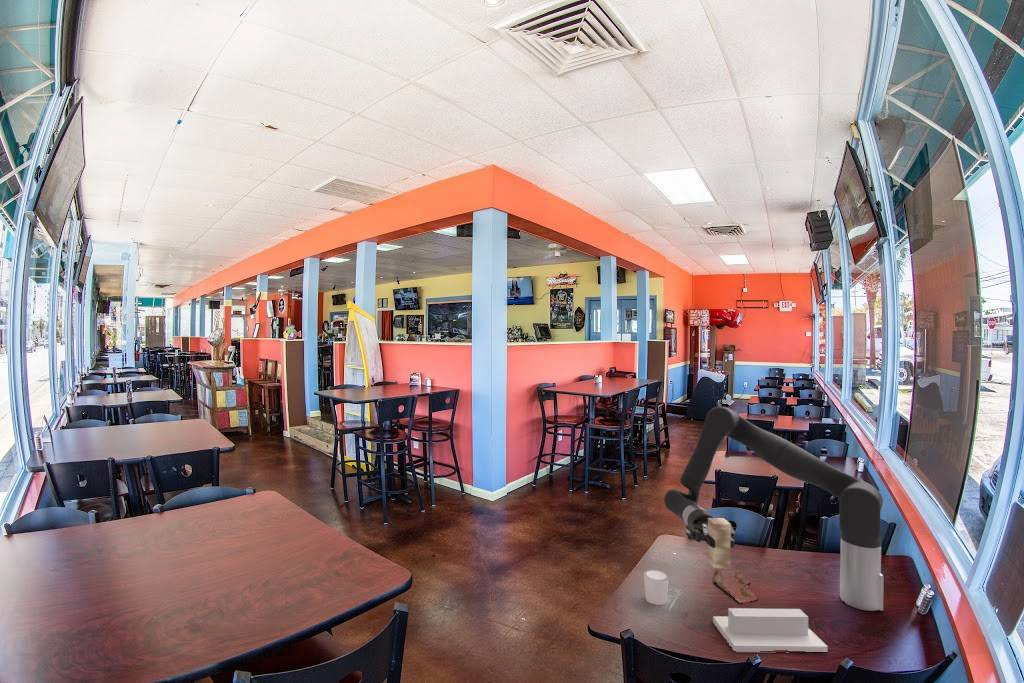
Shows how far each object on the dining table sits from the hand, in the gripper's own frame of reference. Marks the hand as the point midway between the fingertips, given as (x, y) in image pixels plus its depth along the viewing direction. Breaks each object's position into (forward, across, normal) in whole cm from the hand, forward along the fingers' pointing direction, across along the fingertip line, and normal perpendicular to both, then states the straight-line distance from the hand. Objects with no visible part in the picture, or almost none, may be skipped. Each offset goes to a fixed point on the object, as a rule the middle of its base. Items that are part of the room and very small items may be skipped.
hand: (723, 544), depth 131 cm
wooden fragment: (-16, +10, +18) cm, 26 cm away
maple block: (-3, 0, +7) cm, 7 cm away
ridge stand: (+12, +6, +18) cm, 22 cm away
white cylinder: (-5, -17, +18) cm, 25 cm away
